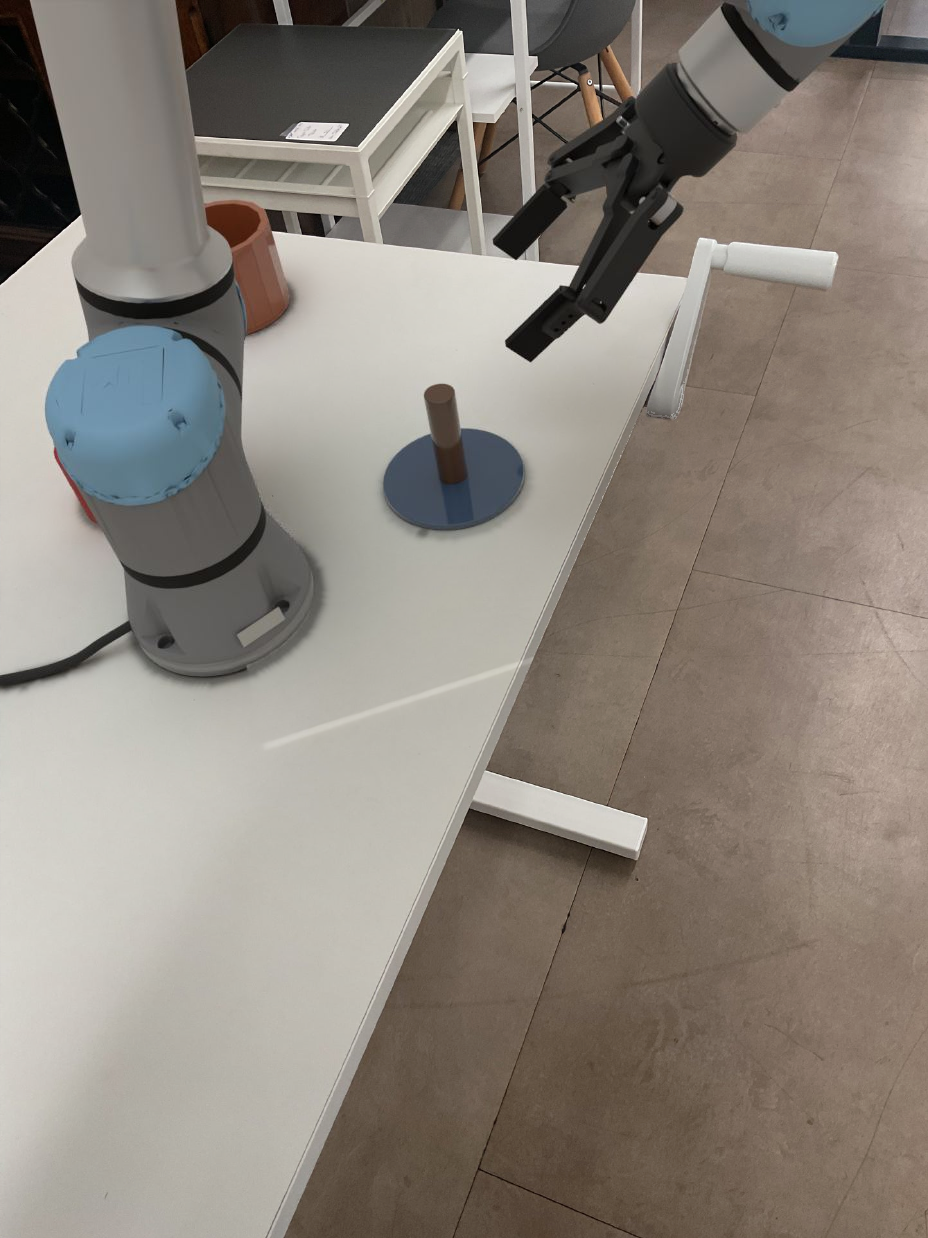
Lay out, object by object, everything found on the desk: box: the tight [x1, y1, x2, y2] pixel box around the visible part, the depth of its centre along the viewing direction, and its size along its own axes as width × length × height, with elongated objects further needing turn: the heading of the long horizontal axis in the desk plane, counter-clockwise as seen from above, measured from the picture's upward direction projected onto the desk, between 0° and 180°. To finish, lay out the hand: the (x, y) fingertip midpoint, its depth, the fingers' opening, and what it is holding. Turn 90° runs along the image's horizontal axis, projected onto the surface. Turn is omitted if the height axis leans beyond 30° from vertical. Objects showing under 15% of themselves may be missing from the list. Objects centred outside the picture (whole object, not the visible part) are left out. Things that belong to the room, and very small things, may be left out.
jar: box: [204, 199, 291, 336], centre depth 110 cm, size 12×12×10 cm
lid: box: [382, 383, 525, 531], centre depth 87 cm, size 13×13×10 cm
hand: (510, 298), depth 85 cm, fingers open, 13 cm apart
